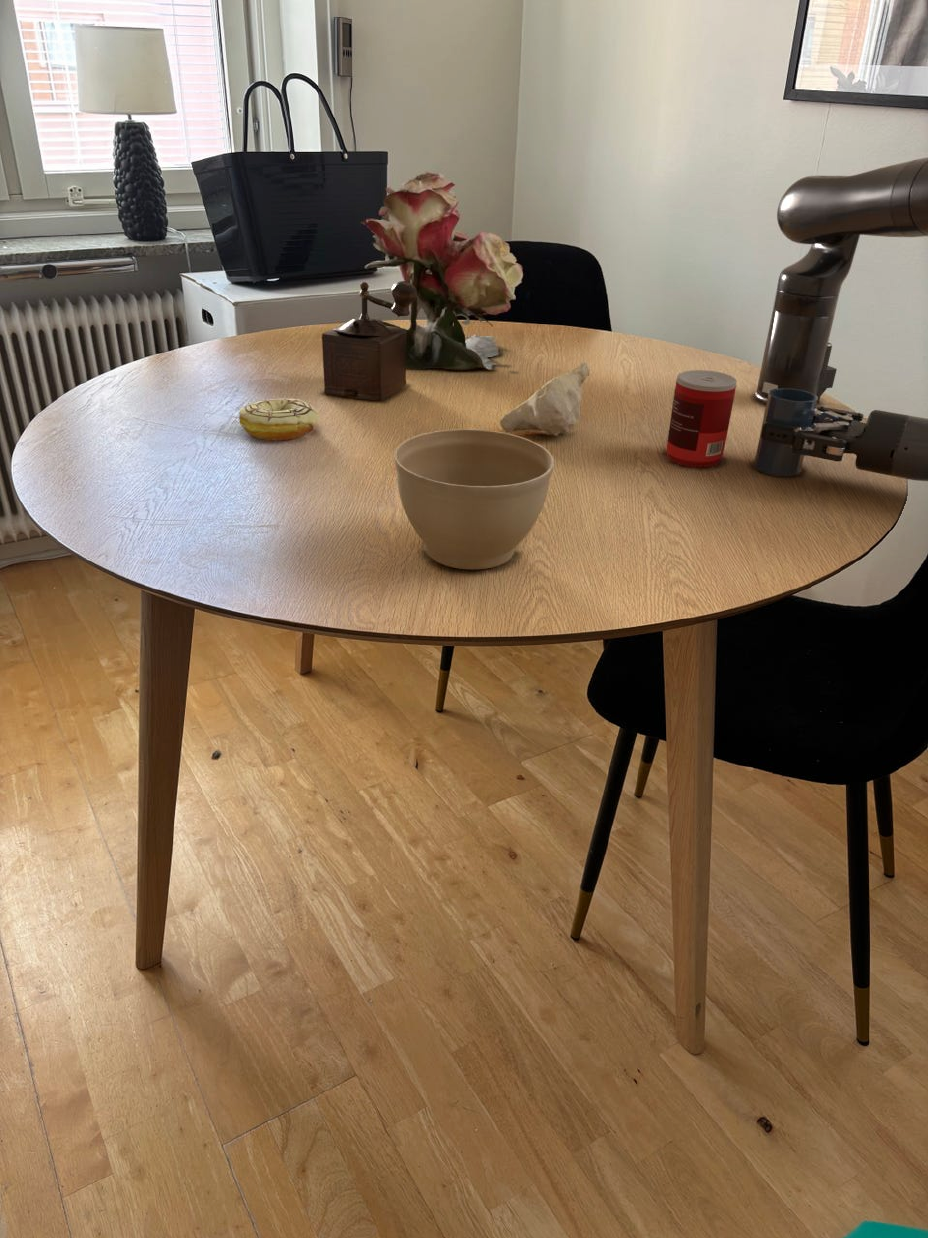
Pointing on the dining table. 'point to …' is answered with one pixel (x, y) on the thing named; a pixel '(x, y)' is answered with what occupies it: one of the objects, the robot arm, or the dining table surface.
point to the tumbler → (789, 411)
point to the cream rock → (550, 405)
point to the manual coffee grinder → (368, 351)
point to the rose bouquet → (443, 273)
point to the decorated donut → (278, 418)
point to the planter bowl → (472, 493)
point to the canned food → (700, 417)
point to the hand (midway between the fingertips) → (770, 421)
